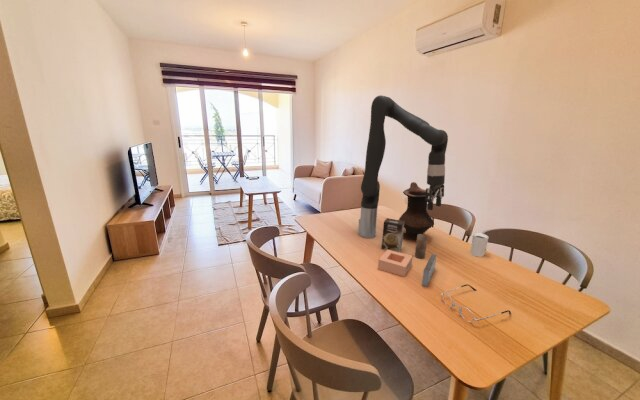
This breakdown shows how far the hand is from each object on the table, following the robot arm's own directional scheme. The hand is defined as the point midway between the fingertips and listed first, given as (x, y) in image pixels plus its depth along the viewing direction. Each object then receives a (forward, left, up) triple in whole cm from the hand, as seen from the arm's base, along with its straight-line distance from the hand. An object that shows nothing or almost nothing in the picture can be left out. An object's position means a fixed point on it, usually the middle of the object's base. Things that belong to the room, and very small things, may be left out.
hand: (434, 207), depth 125 cm
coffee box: (-16, -8, -24) cm, 30 cm away
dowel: (-2, -9, -24) cm, 25 cm away
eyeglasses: (+22, -34, -24) cm, 47 cm away
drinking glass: (+21, +12, -24) cm, 34 cm away
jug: (-11, +17, -24) cm, 31 cm away
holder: (-9, -25, -22) cm, 35 cm away
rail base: (-4, -25, -24) cm, 35 cm away
